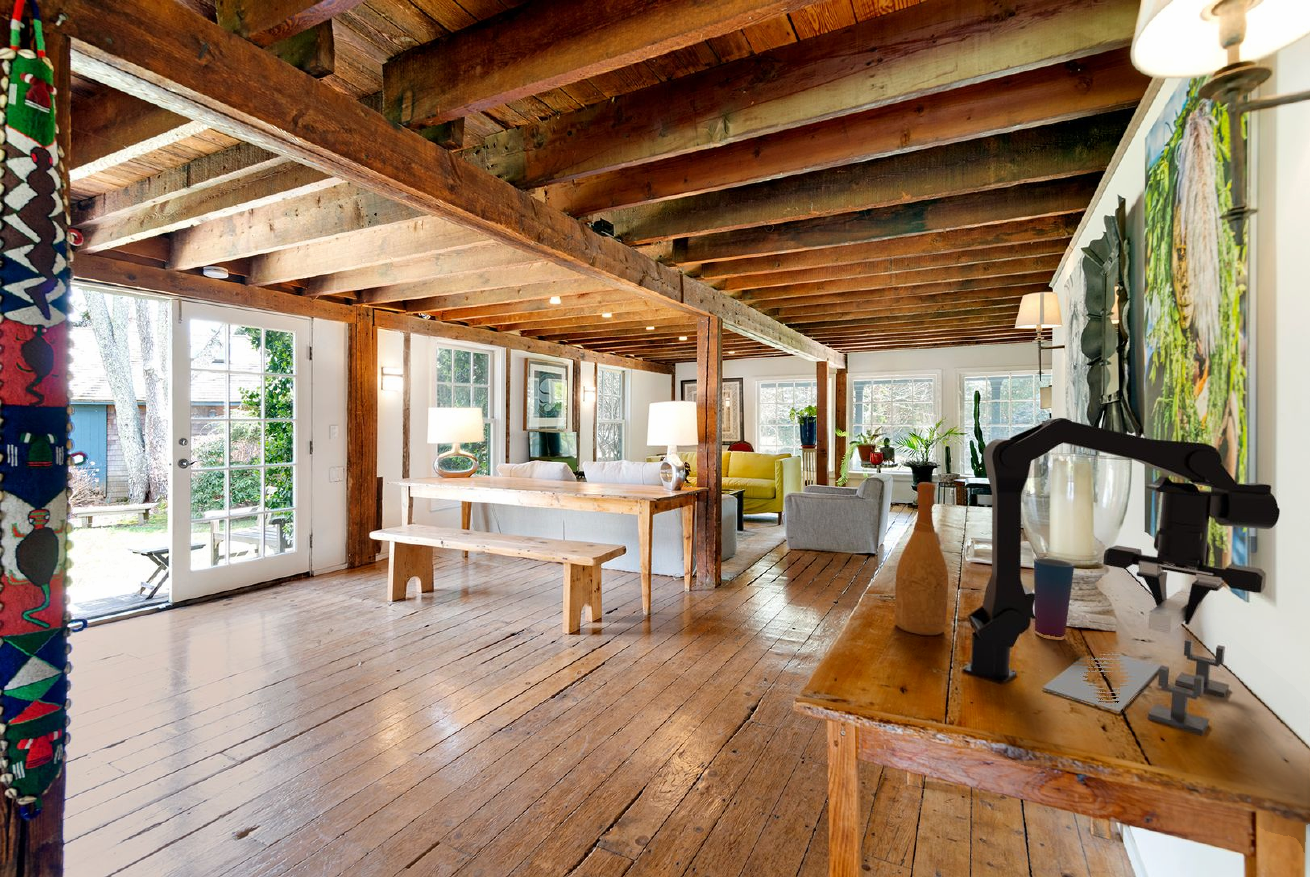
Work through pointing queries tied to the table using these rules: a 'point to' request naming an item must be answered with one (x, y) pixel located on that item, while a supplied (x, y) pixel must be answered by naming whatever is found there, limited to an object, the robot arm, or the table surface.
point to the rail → (1170, 612)
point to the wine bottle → (922, 574)
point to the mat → (1080, 690)
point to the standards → (1189, 691)
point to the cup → (1052, 595)
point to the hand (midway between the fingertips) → (1175, 621)
